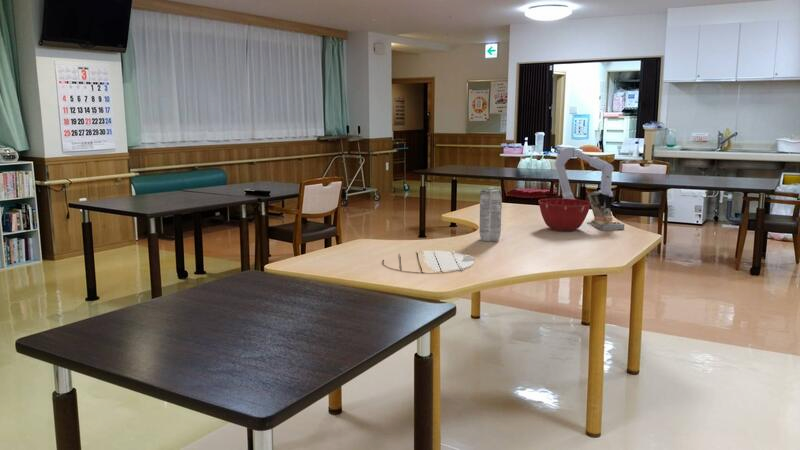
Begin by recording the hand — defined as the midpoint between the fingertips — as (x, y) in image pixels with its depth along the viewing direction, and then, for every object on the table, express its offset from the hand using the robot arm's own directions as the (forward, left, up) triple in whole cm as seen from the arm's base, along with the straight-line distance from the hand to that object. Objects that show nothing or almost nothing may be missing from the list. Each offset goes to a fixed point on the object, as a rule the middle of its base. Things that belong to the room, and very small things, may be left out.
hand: (604, 207), depth 361 cm
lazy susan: (-116, -83, -10) cm, 143 cm away
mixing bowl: (-30, -15, -10) cm, 35 cm away
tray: (-4, -16, -9) cm, 19 cm away
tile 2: (-1, -8, -6) cm, 10 cm away
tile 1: (-6, -8, -6) cm, 12 cm away
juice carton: (-78, -40, -10) cm, 88 cm away
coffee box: (+5, +11, -8) cm, 14 cm away
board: (-4, -9, -9) cm, 13 cm away
